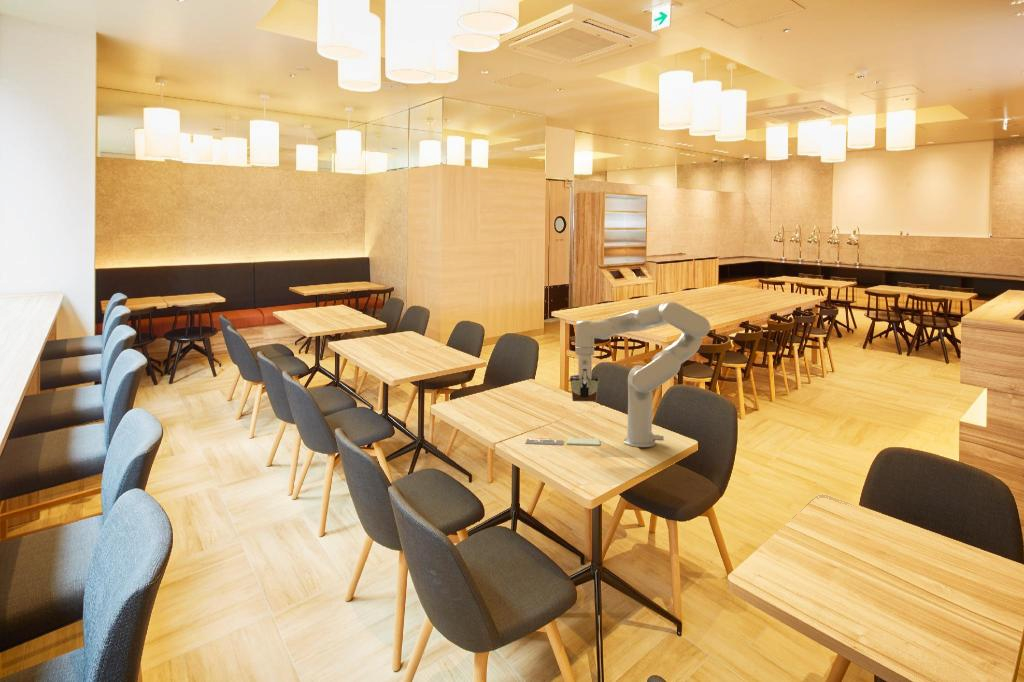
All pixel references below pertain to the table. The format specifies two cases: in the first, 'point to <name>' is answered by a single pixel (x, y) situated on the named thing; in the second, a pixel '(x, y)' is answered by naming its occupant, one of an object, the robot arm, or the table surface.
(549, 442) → the tile
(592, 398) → the food container
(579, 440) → the pad
